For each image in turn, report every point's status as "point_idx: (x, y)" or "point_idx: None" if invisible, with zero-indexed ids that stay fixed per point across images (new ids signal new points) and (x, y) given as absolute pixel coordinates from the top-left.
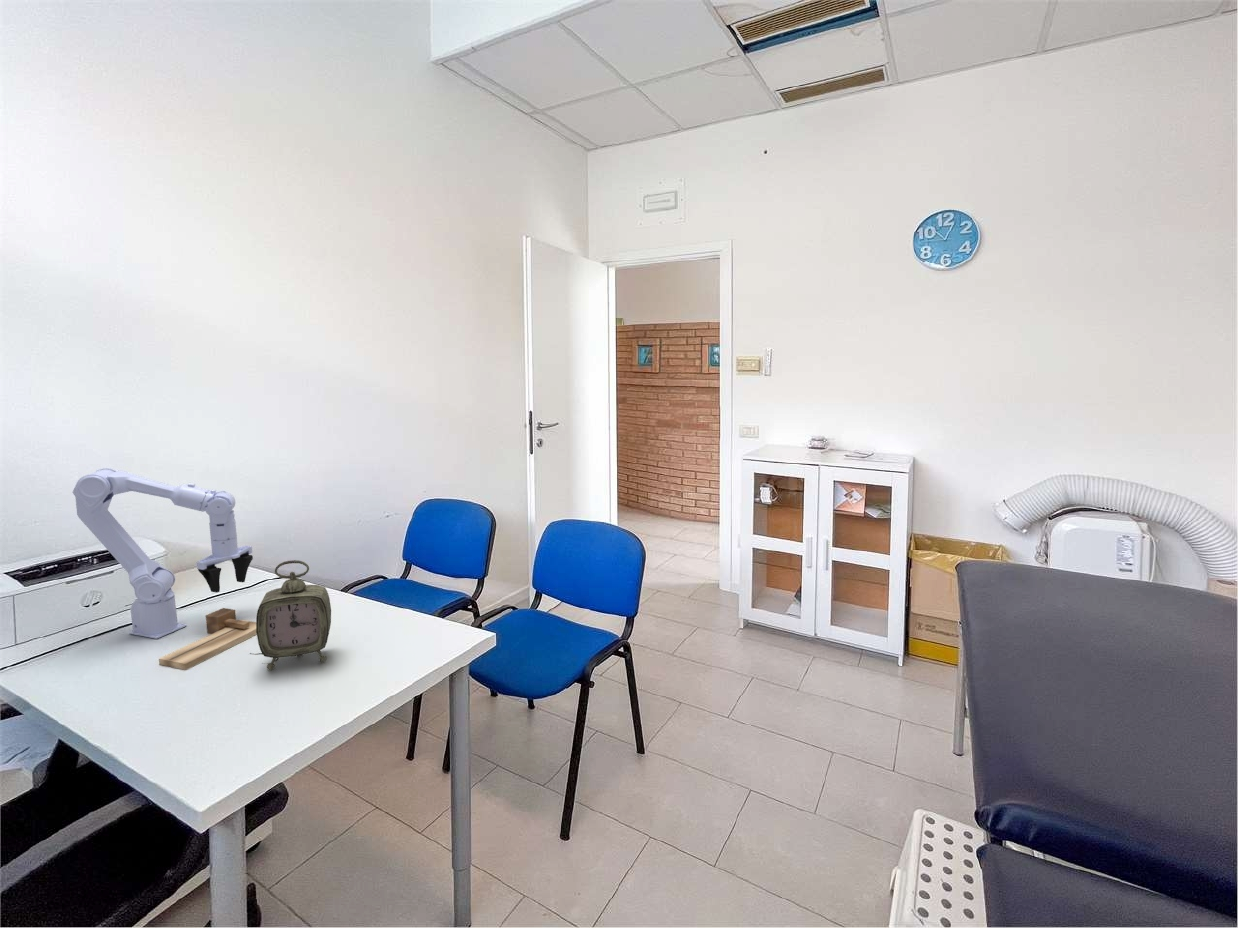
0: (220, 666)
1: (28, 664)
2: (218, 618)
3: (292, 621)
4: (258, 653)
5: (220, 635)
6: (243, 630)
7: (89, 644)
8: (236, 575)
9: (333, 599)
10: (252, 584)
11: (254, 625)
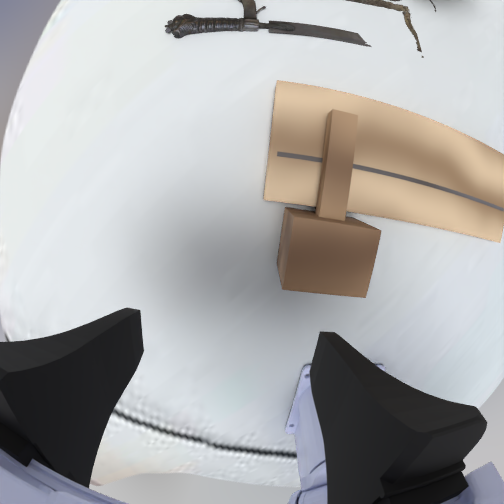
0: (476, 89)
1: None
2: (374, 228)
3: None
4: (411, 31)
5: (398, 177)
6: None
7: None
8: (128, 376)
9: (40, 84)
10: None
11: (301, 113)
